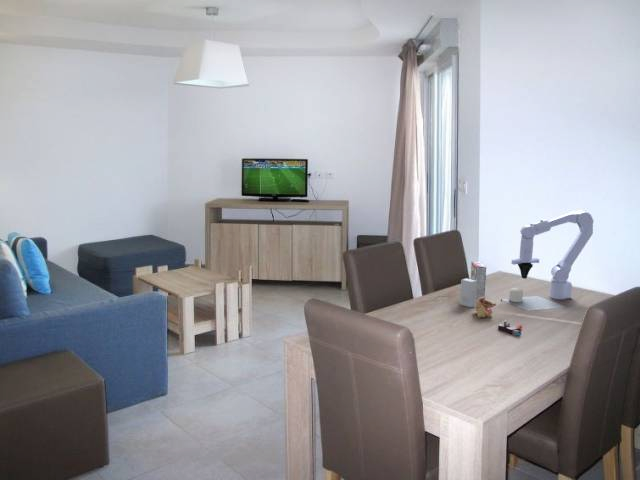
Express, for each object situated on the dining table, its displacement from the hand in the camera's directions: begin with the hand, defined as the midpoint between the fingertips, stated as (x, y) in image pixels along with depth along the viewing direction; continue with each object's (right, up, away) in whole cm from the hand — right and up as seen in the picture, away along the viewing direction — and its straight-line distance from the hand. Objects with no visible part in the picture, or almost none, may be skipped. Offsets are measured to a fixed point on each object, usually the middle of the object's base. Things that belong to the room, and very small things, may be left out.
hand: (524, 278), depth 296 cm
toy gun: (-20, -19, -48) cm, 56 cm away
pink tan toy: (-27, -15, -29) cm, 42 cm away
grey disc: (-7, -11, -9) cm, 16 cm away
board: (0, -12, -12) cm, 17 cm away
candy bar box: (-23, -9, 0) cm, 25 cm away
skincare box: (-31, -12, -14) cm, 36 cm away
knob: (-7, -10, -9) cm, 15 cm away
